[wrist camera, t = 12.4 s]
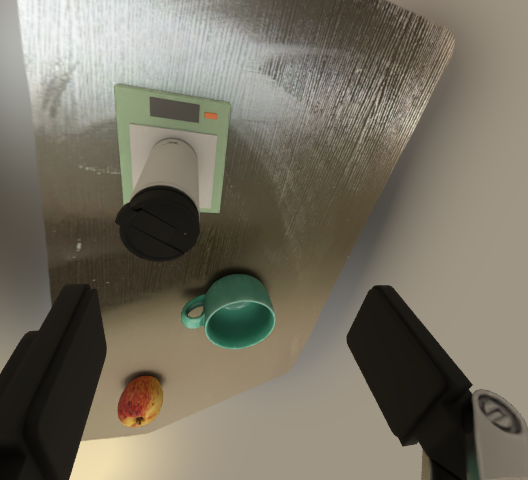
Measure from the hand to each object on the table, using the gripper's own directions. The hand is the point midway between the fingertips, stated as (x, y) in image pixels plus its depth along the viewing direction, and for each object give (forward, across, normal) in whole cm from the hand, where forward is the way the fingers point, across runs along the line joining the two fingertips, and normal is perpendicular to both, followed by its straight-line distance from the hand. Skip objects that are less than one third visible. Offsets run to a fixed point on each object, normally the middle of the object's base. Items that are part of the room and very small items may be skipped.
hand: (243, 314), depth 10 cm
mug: (+36, -6, +32) cm, 49 cm away
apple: (+36, +10, +60) cm, 70 cm away
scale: (+36, +4, +6) cm, 37 cm away
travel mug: (+34, +4, +6) cm, 34 cm away
